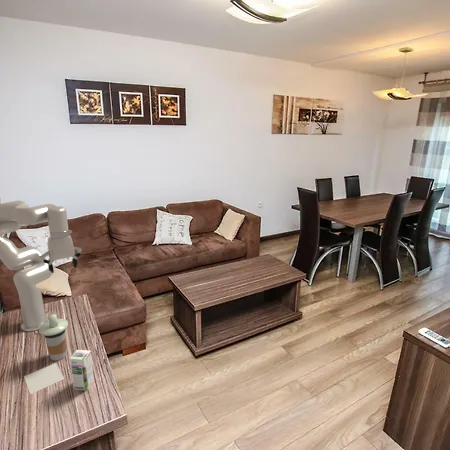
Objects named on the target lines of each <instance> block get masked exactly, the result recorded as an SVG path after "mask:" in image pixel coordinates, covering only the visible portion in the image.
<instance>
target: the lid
mask: <svg viewBox="0 0 450 450" xmlns="http://www.w3.org/2000/svg"><path fill="white" fill-rule="evenodd" d="M47 317H48V319H49V321H47V322H45V323H44V324H42V325H41V326H40V328H39V330H38V331H39V334H40V335H42V336H44V335H45V336H50V335H55V334H58V333H61V332H63V331H64V330H65V329H67V328H68V327H69V321H68V320H67V319H65V318H58V316H57V313H51V314H49V315H48V316H47ZM65 331H66V330H65Z"/></svg>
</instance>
